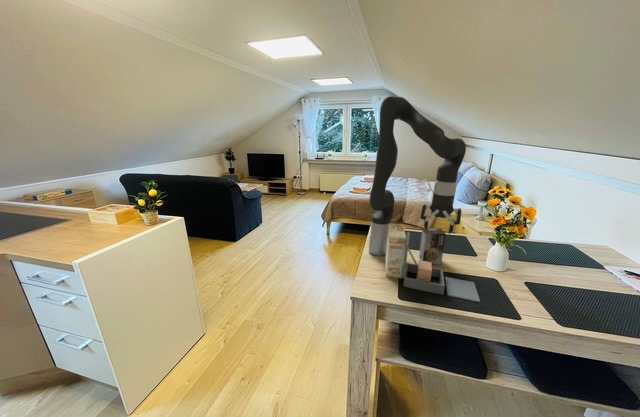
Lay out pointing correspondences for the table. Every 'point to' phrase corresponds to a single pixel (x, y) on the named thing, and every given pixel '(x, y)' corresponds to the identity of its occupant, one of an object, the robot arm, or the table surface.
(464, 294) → the mat
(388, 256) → the coffeecake box
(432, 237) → the coffee box
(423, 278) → the block
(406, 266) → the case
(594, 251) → the table surface
